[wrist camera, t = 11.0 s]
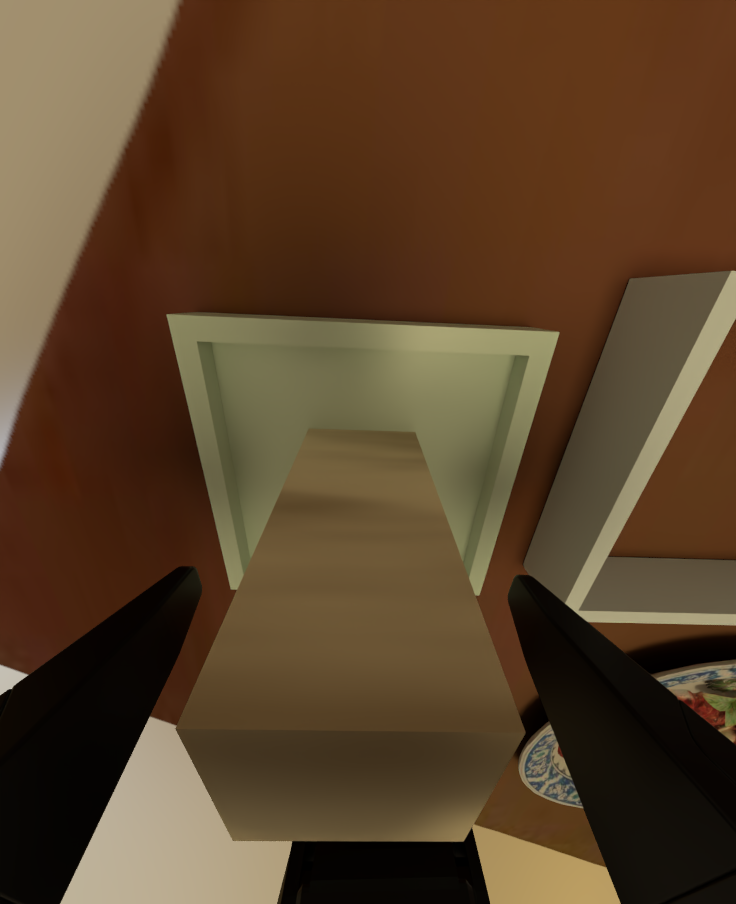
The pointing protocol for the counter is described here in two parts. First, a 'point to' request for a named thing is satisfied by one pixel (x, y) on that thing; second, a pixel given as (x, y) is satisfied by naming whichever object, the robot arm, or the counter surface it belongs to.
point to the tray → (358, 410)
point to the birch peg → (353, 662)
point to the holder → (636, 460)
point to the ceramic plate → (699, 686)
